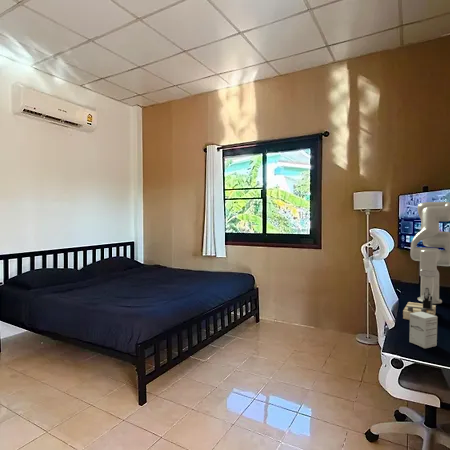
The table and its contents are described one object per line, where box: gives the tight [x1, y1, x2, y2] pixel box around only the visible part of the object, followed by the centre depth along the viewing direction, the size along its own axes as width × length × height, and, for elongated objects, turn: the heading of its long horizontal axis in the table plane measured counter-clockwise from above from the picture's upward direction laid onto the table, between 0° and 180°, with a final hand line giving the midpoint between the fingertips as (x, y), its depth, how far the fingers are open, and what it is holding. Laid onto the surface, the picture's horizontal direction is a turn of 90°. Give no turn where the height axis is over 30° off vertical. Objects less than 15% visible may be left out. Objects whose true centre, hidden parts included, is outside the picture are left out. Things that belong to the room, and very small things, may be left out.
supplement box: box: [408, 311, 438, 349], centre depth 138 cm, size 7×7×13 cm
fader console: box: [402, 301, 437, 321], centre depth 174 cm, size 20×13×6 cm, turn 144°
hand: (427, 305), depth 172 cm, fingers open, 9 cm apart
